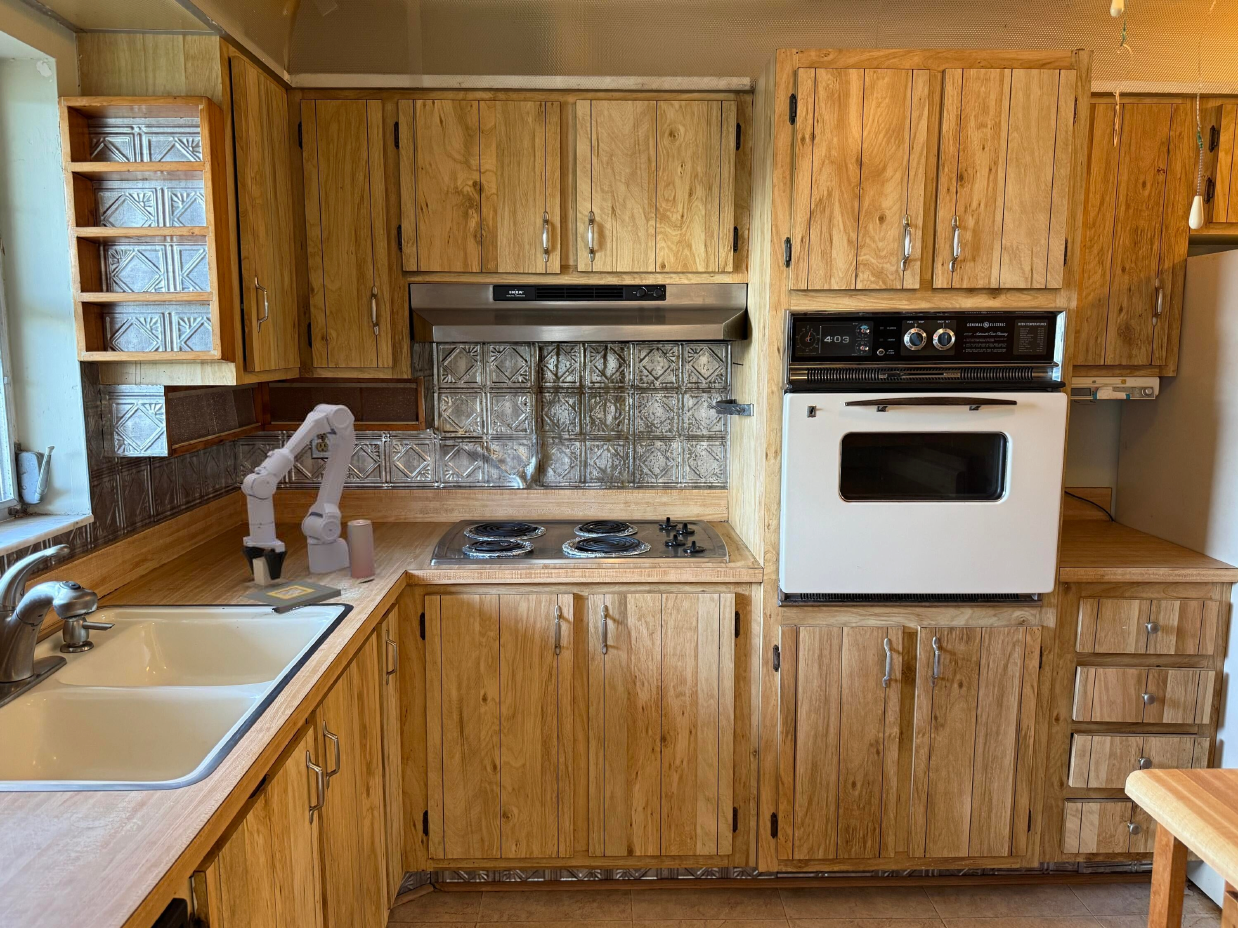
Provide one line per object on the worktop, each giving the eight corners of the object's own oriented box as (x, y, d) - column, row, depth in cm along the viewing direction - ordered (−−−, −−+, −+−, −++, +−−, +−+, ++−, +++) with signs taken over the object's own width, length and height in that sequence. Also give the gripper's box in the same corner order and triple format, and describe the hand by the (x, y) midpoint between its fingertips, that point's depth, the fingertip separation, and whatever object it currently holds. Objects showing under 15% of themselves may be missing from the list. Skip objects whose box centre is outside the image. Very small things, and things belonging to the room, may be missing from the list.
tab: (272, 581, 219) (272, 576, 218) (291, 586, 214) (291, 580, 214) (243, 589, 212) (242, 583, 212) (261, 594, 207) (261, 588, 207)
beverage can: (346, 580, 218) (342, 522, 216) (368, 575, 222) (364, 518, 220) (358, 585, 214) (354, 525, 211) (380, 580, 218) (376, 521, 216)
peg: (269, 579, 216) (267, 555, 215) (279, 581, 213) (277, 557, 212) (254, 583, 212) (252, 559, 211) (264, 585, 210) (262, 561, 209)
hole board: (301, 585, 215) (300, 578, 215) (341, 595, 206) (340, 588, 205) (240, 602, 202) (240, 595, 202) (280, 613, 193) (280, 606, 193)
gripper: (229, 522, 212) (234, 576, 214) (263, 529, 203) (268, 585, 205) (256, 517, 217) (261, 569, 219) (290, 523, 209) (295, 578, 211)
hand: (266, 576), depth 213 cm, fingers open, 7 cm apart
